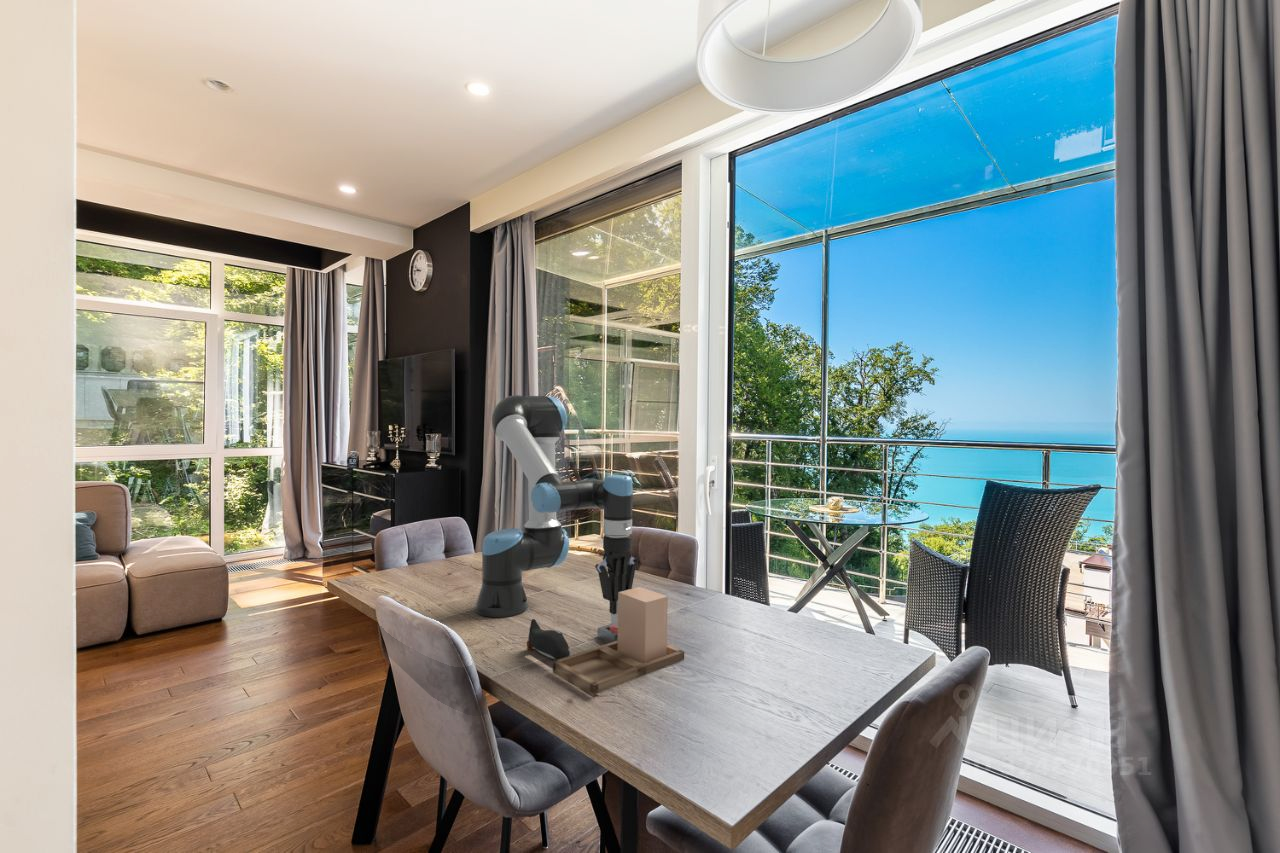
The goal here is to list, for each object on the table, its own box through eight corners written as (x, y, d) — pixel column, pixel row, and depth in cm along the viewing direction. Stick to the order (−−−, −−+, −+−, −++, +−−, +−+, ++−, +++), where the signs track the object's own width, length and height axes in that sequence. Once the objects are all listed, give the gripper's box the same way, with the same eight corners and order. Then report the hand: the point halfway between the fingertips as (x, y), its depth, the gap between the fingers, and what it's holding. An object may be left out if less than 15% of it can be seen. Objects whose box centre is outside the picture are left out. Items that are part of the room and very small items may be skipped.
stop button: (606, 638, 151) (606, 627, 151) (617, 635, 153) (617, 624, 153) (615, 642, 148) (615, 631, 148) (626, 639, 151) (626, 627, 151)
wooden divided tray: (552, 672, 132) (552, 661, 132) (641, 643, 149) (641, 633, 149) (593, 697, 120) (593, 685, 120) (684, 662, 138) (684, 651, 138)
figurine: (520, 663, 142) (554, 672, 131) (517, 621, 144) (550, 627, 133) (546, 655, 147) (580, 663, 136) (542, 615, 149) (576, 620, 138)
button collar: (597, 640, 151) (597, 627, 151) (618, 633, 156) (618, 621, 156) (614, 648, 146) (614, 635, 146) (635, 641, 150) (635, 629, 150)
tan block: (617, 653, 141) (618, 592, 140) (639, 646, 145) (639, 586, 145) (644, 667, 133) (645, 602, 133) (666, 659, 138) (667, 596, 138)
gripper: (607, 540, 143) (605, 635, 144) (645, 534, 152) (644, 623, 152) (588, 535, 149) (587, 626, 149) (627, 529, 157) (626, 615, 158)
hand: (616, 624), depth 151 cm, fingers closed
